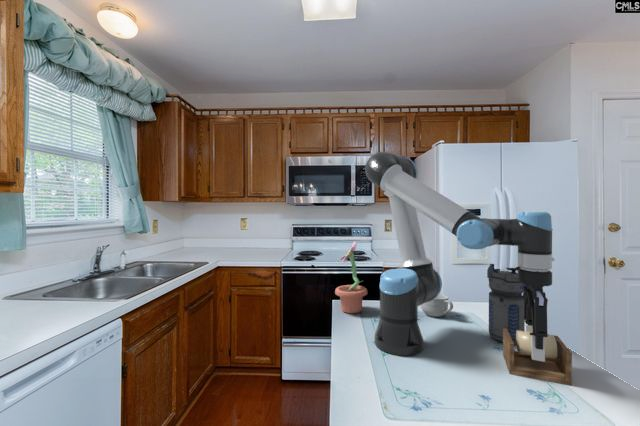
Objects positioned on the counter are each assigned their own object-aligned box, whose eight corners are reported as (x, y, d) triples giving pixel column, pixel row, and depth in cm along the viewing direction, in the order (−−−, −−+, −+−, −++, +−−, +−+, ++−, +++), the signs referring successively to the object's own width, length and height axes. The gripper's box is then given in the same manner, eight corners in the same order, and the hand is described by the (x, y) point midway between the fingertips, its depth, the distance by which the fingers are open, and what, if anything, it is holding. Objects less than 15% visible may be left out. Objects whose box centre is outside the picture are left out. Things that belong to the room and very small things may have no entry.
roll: (518, 358, 80) (520, 341, 78) (514, 342, 85) (515, 325, 83) (556, 364, 77) (559, 347, 75) (550, 346, 82) (552, 329, 80)
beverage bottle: (539, 347, 93) (540, 267, 93) (494, 344, 95) (494, 266, 95) (522, 333, 103) (522, 262, 103) (481, 331, 105) (481, 261, 105)
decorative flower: (337, 304, 136) (337, 238, 136) (367, 305, 134) (367, 239, 134) (333, 315, 121) (333, 242, 121) (367, 317, 119) (367, 242, 119)
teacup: (415, 311, 126) (415, 292, 126) (436, 309, 129) (436, 290, 129) (437, 323, 113) (437, 302, 113) (460, 320, 116) (460, 299, 116)
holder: (509, 373, 78) (509, 343, 78) (502, 355, 88) (503, 328, 88) (571, 385, 73) (571, 353, 73) (557, 364, 83) (557, 335, 83)
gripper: (563, 277, 70) (564, 375, 70) (541, 264, 87) (542, 342, 87) (525, 274, 73) (526, 368, 73) (511, 262, 90) (512, 338, 90)
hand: (534, 354), depth 80 cm, fingers closed on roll, 6 cm apart
